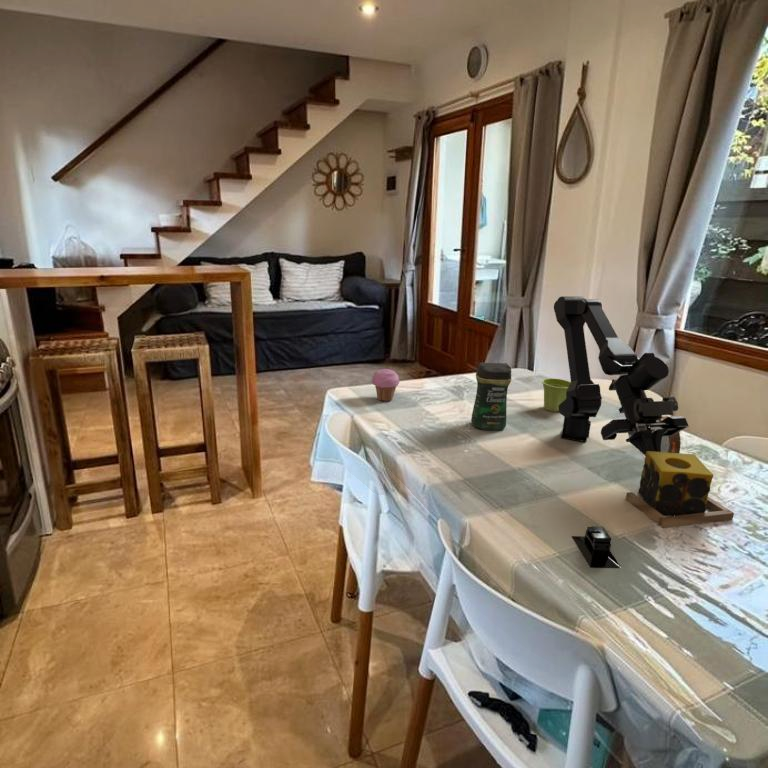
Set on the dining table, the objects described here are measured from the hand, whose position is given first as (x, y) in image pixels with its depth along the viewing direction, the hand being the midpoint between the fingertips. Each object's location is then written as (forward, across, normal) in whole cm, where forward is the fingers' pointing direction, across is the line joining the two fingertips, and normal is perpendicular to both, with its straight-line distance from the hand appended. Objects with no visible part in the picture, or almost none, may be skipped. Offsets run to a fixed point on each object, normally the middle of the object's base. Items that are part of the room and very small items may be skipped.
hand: (657, 464), depth 115 cm
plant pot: (-32, +6, +42) cm, 53 cm away
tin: (-8, +18, +18) cm, 27 cm away
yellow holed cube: (+9, 0, +1) cm, 9 cm away
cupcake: (-43, -45, +53) cm, 82 cm away
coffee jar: (-25, -20, +34) cm, 47 cm away
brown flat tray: (+10, 0, -1) cm, 10 cm away
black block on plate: (+18, -26, -7) cm, 32 cm away
